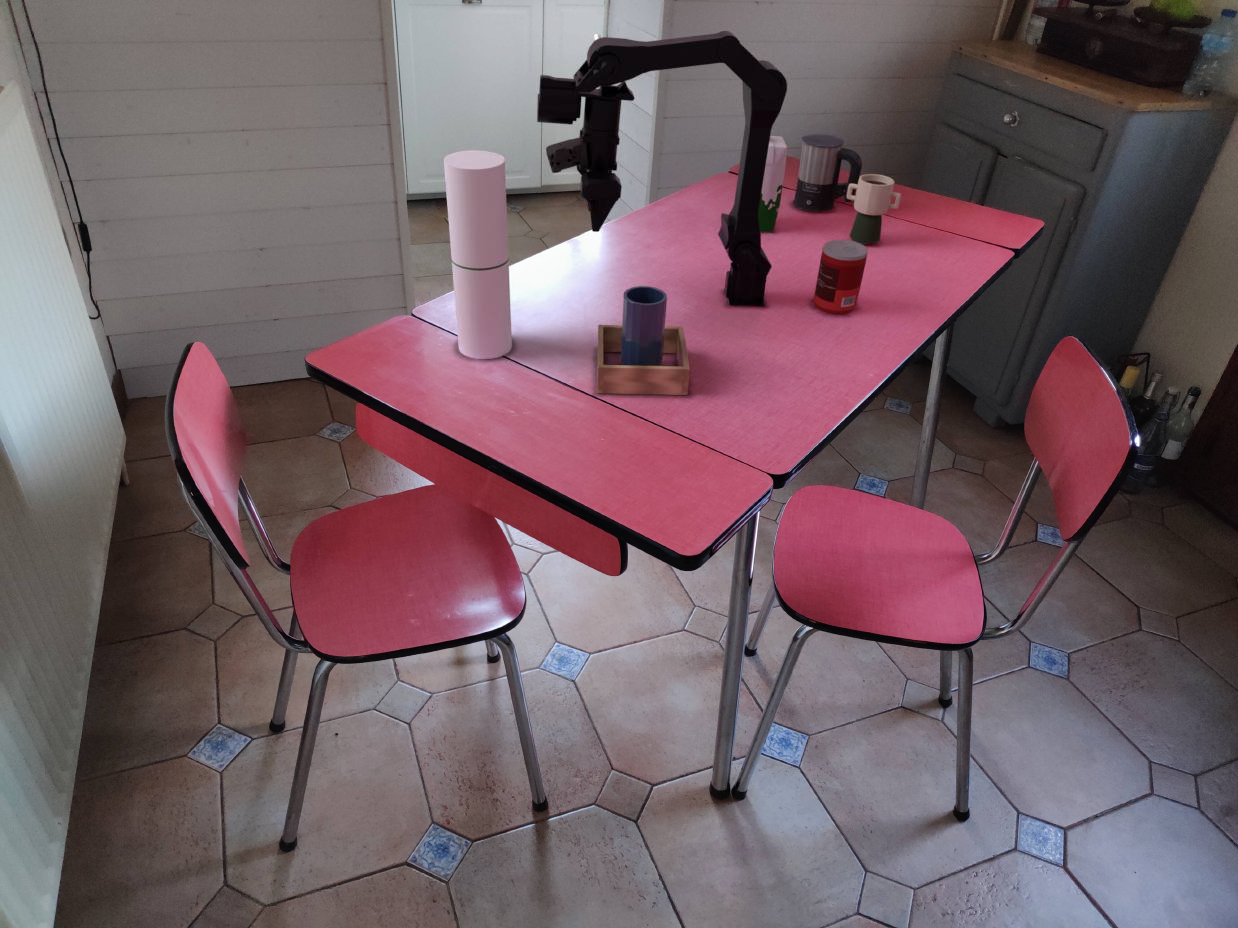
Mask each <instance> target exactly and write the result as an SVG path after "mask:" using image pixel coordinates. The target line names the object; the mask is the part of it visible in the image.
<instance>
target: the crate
mask: <svg viewBox="0 0 1238 928" xmlns="http://www.w3.org/2000/svg"><path fill="white" fill-rule="evenodd" d="M621 342H622V324H598V325H597V368H596V369H597V371H596V373H597V375H596V377H597V379H596V380H597V383H596V384H597V385H596V386H597V388H596V389H597V391H596V393H597V394H615V395H618V394H619V395H620V394H623V395H664V396H665V395H667V396H671V395H672V396H688V395H689V394H688V393H689V383H690V372H691V368H690V367H691V366H690V362H689V356H688V350H687V343H686V337H685V331H684V326H671V325H669V326H667V325H665V331H664V345H663V354H676V361H677V366H676V365H675V366H674V365H673V366H671V365H669V366H668V365H662V366H631V365H621V364H620V365H619V364H604V353H621Z"/></svg>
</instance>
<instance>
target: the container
mask: <svg viewBox="0 0 1238 928" xmlns="http://www.w3.org/2000/svg"><path fill="white" fill-rule="evenodd" d="M505 159H506V158H505V157H504V156H503V155H501V154H500V153H497V152H493V151H489V150H481V149H480V150H479V149H478V150H477V149H471V150H470V149H469V150H460V151H456V152H452V153H449V154H447V155H445V157H444V158H443V168H444V169H443V170H444V180H445V193H446V204H447V218H448V230H449V243H450V244H449V245H450V254H451V256H450V257H451V269H452V278H453V279H452V283H453V294H454V307H455V317H456V318H455V319H456V320H455V321H456V330H457V331H456V332H457V343H458V350H459V352H460V353H461V354H462V355H464V356H465V357H468V358H470V359H475V360H476V359H477V360H492V359H497V358H500V357H503V356H505V355H507V354H508V353H510V352H511V350H512V348H513V338H512V337H513V336H512V313H511V310H512V309H511V288H510V286H511V285H510V263H509V262H510V260H509V236H508V235H509V234H508V233H509V232H508V215H507V214H508V209H507V206H508V205H507V183H506V160H505Z"/></svg>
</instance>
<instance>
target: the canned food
mask: <svg viewBox="0 0 1238 928" xmlns="http://www.w3.org/2000/svg"><path fill="white" fill-rule="evenodd" d="M868 253H869V250H868V248H867V246H865V244H862V243H858V242H856V241H854V240H848V239H834V240H829V241H826V242H825V243H824V244H823V246H822V250H821V255H820V260H819V267H818V272H817V278H816V284H815V290H814V296H813V304H814V307H815V309H817V310H819V311H821V312H823V313H826V314H829V315H838V316H839V315H840V316H841V315H847V314H850V313H852V312H854V311H855V308H856V307H857V305H858V300H859V296H860V292H861V291H860V290H861V286H862V282H863V277H864V272H865V268H866V263H867V259H868Z"/></svg>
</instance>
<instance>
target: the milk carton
mask: <svg viewBox="0 0 1238 928" xmlns="http://www.w3.org/2000/svg"><path fill="white" fill-rule="evenodd" d="M787 154H788V146H787V144H786V142H785V139H784V137H783V136H780V135H779V136H777V135H770V141H769V147H768V153H767V160H766V166H765V173H764V179H763V185H762V192H761V198H760V205H759V211H758V214H759V223H760V231H761V233H774V232H775V231H774V230H775V226H776V222H777V219H778V214H779V211H780V206H781V199H782V193H783V187H784V180H785V173H786V166H787Z"/></svg>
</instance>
